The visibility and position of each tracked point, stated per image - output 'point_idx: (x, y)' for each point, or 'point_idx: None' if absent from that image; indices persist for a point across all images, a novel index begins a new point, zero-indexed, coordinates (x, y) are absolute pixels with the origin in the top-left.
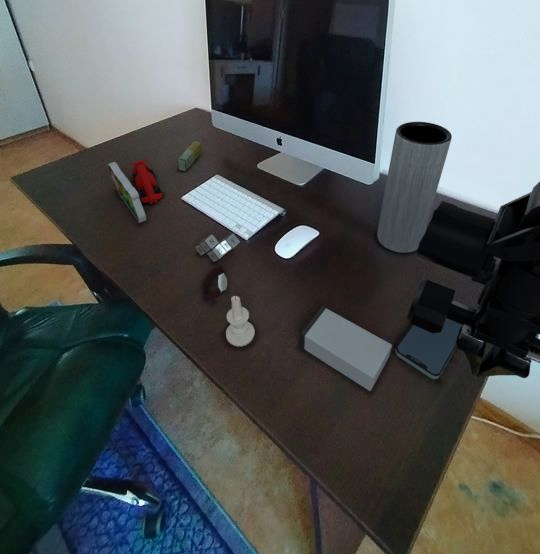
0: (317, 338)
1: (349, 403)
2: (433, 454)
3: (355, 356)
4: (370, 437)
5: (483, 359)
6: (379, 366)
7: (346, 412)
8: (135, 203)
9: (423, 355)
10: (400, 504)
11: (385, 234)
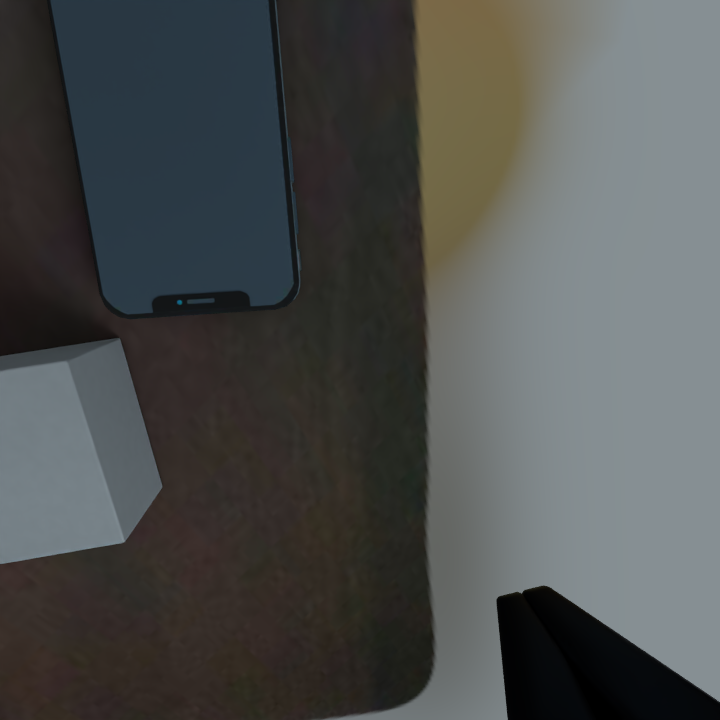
0: None
1: (144, 559)
2: (401, 500)
3: (2, 524)
4: (252, 585)
5: (605, 709)
6: (103, 487)
7: (158, 583)
8: None
9: (205, 252)
10: (392, 640)
11: None
